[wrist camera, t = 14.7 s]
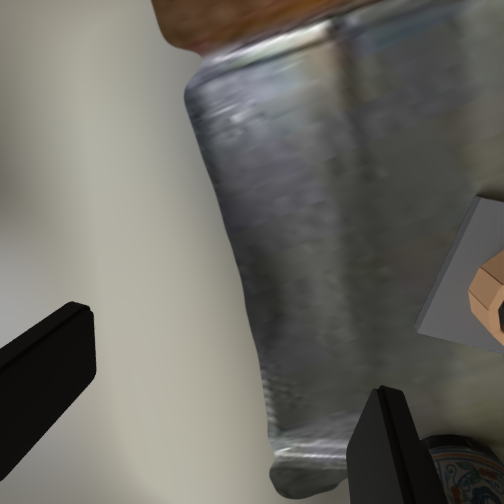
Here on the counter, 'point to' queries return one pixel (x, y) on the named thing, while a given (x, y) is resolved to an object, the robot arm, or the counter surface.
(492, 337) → the duct base
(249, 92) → the counter surface
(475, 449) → the beer stein
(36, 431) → the robot arm
